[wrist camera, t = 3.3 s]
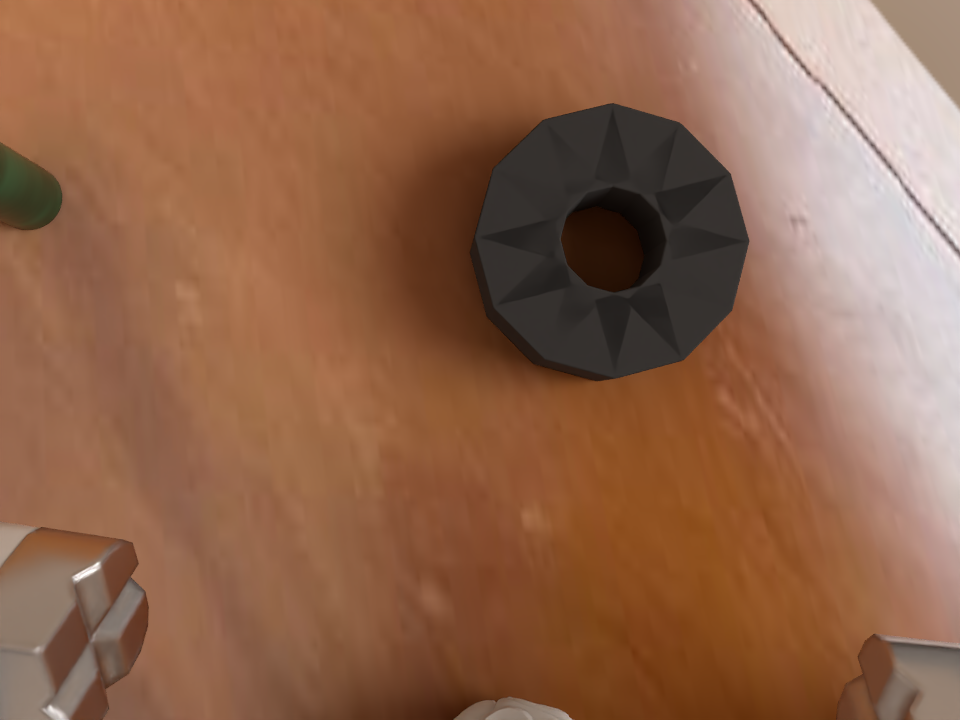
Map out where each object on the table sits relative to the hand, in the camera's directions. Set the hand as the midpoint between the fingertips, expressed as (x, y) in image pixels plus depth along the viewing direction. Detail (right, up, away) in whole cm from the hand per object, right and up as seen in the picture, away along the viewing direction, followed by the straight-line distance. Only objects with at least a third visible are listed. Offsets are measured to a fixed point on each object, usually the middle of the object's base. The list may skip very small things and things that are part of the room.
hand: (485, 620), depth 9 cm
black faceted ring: (+5, +8, +28) cm, 30 cm away
